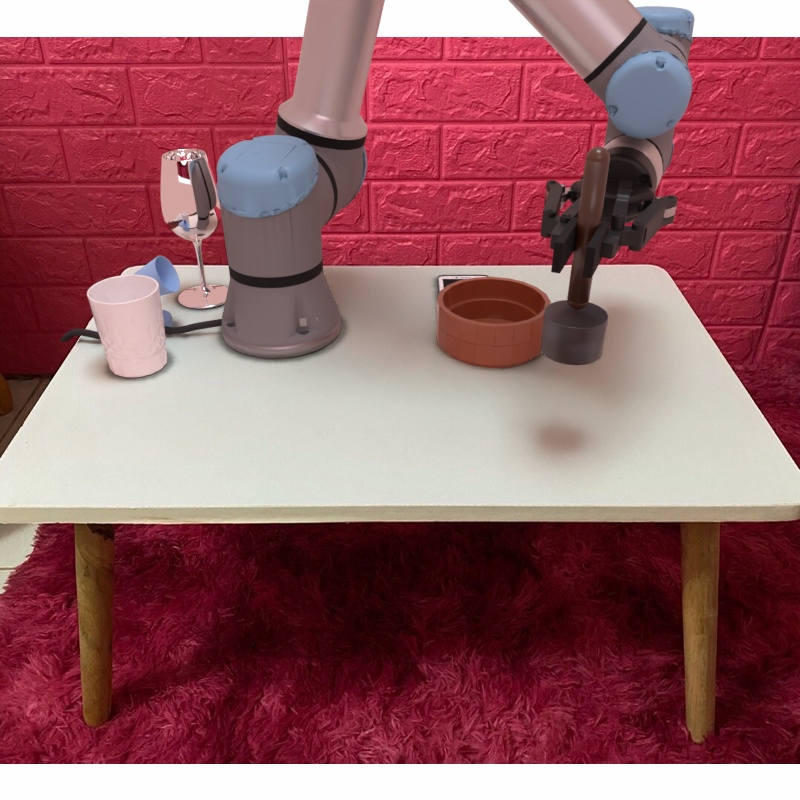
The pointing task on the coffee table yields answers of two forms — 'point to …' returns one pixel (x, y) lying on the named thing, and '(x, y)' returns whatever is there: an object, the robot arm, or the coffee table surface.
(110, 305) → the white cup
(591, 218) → the peg on round base
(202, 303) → the wineglass
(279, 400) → the coffee table surface
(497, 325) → the bowl
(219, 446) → the coffee table surface
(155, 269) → the spotlight
